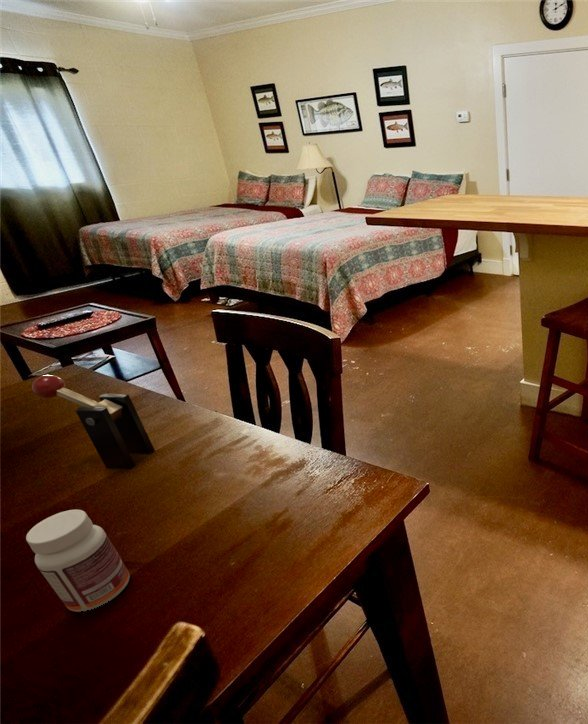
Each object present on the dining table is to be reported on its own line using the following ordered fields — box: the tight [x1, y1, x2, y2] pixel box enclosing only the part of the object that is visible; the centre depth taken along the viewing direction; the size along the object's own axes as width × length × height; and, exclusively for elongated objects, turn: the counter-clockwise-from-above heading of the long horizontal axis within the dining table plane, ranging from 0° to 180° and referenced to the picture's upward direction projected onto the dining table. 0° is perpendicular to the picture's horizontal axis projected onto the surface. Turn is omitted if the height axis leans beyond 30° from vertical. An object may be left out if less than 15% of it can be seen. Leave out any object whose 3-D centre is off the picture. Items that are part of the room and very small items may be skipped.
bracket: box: [74, 393, 156, 470], centre depth 78 cm, size 9×7×13 cm
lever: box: [31, 374, 122, 421], centre depth 75 cm, size 12×4×4 cm
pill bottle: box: [25, 509, 131, 613], centre depth 56 cm, size 6×6×11 cm
